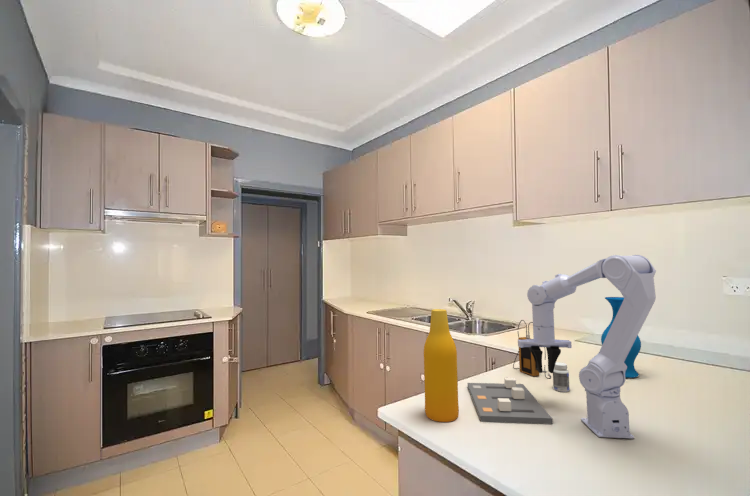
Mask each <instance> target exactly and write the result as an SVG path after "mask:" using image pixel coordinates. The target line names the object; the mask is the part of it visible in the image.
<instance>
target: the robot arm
mask: <svg viewBox="0 0 750 496" xmlns="http://www.w3.org/2000/svg"><path fill="white" fill-rule="evenodd" d="M656 272H657V270H656V268H655V267H654V265H653V264H652V262H651V261H650V260H649V258H647V257H646V256H643V255H640V254H632V255H620V254H619V255H618V254H613V255H610V256H608V257H606V258H602V259H599V260H597V261H596V262H593V263H592V264H590V265H588V266H587V267H585V268H582V269H580V270H578V271H577V272H575V273H573V274H571V275H568V274H565V273H564V274H563V273H558V274H555V275H554V278H551V279H549V280H543V281H542V284H540V285H538V284H533V285H532V286H530V287H529V288H528V290H527V293H526V295H527V300H528V301H529V302H530V303H531V310H532V322H533V323H532V332H533V333H532V336H533V338H530V339H525V340H518V339H517V347H518V348H519V347H520V348H523V347H529V349H530V351H531V353H532V355H533V357H534V360H535V362H536V366H537V370H538V372H539V374H542V373H543V372H542V371H543V362H542V361H543V350H542V349H541V348H544V347H545V350H546V354H547V355H546V356H547V371H549V372H548V373H549V374H553V372H554V367H555V363H556V362H557V360H558V359H559V357H560V355H561V352H562V350H561V348H567V349H572V348H573V347H572V345H573V344H572V341H571V340H570V339H569V340H568V339H555V335H556V334H555V319H554V318H555V317H554V316H555V314H554V310H555V303H556V302H557V301H558V300H560V299H562V298H564V297H567V296H570V295H572V294H574V293H575V292H576V291H577V287H580V286H582V285H585V284H588V283H590V282H594V281H596V280H598V279H599V280H600V279H607V280H608V281H609V282H610V283H611V284H612V285H613V286H614V287H615V288H616V289H617V290H618V291H619V292H620V294H621V295H622V297H624V300H623V302H622V304H621V307H620V309H619V311H618V313H617V315H616V317H615V319H614V321H613V324H612V326H611V328H610V330H609V332H608V334H607V336H606V338H605V340H604V343H603V345H602V344H601V347H600V348H599V351H598V353H597V354H596V355H594V356H593V357H592V358H591V359H589V361H588V363H587V365H586V366H584V367H582V368H581V369H580V370H579V374H578V378H579V379H578V380H579V383H580V384H581V386H582V387H583V389H584V392H585V393H586V395H585V396H586V397H585V398H586V417H587V418H586V417H581V418H580V420H581V422H582V423H584V424H585V425H586V427H588V429H589V430H591V431H592V433H594V434H595V435H596V436H597V437H598V438H611V439H613V438H615V439H634V438H635V435H633V434H632V433H631V431H630V430H631V429H630V417H629V415H630V414H629V410H628V408H627V406H626V405H625V404H624V403H623V402H622V399H621V387H623V386H624V385H625V383H626V378H625V371H626V369H627V366H626V364H625V363H624V361H625V359H626V357H627V355H628V353H629V351H630V349H631V347H632V345H633V343H634V341H635V339H636V337H637V335H638V336H639V333H640V331H641V330H642V327H643V326H644V323H645V322H646V319H647V318H648V316H649V314H650V312H651V310H652V308H653V306H654V304H655V301H656V288H655V287H656V286H655V279H654V277H655V275H656Z"/></svg>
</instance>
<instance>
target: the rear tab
mask: <svg viewBox="0 0 750 496" xmlns="http://www.w3.org/2000/svg"><path fill="white" fill-rule="evenodd" d="M503 382H504V384H505V387H506V388H512V387H515V388H516V384H517V380H516V378H514V377H504V381H503Z"/></svg>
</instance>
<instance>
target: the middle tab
mask: <svg viewBox="0 0 750 496" xmlns="http://www.w3.org/2000/svg"><path fill="white" fill-rule="evenodd" d="M512 397H513V398H514V399H525V396H524V390H523V388H515V387H512Z"/></svg>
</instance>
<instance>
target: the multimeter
mask: <svg viewBox="0 0 750 496" xmlns="http://www.w3.org/2000/svg"><path fill="white" fill-rule="evenodd" d="M521 322H524V324H525V330H526V331H525V336H522V337H521V336H520V333H519V332H517V336H518V339H517V341H518V340H525V339H531V335H530V324H533V321H530V322H529V323H528V326H527V323H526V321H525V320H524V319H521V320H520V321H519V323H518V326H517V329H519V327H520V325H521ZM543 349H546V347H543ZM546 354H547V350H544V359H546V356H547V355H546ZM517 358H518V361H519V363H518V364H519V366H518V367H517V368H516V367H515V363H516V360H517ZM512 368H513V369H514V370H516V369H517V370H518V369H519V371H520V373H524V374H527V375H529V376H532V377H539V376H540V373H539V372H538V370H537V366H536V362H535V360H534V357H533V355H532V353H531V351H530V349H529V347H523V348H520V347H519V346H518V351H517V353H516V356H515V358H514V361H513V364H512ZM542 373H547V376H548V377H547V376H546V374H544V377H545V379H551V378H552V375H551V373H550V372H549V371H548V370H546V366H544V369H543V370H542Z"/></svg>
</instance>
